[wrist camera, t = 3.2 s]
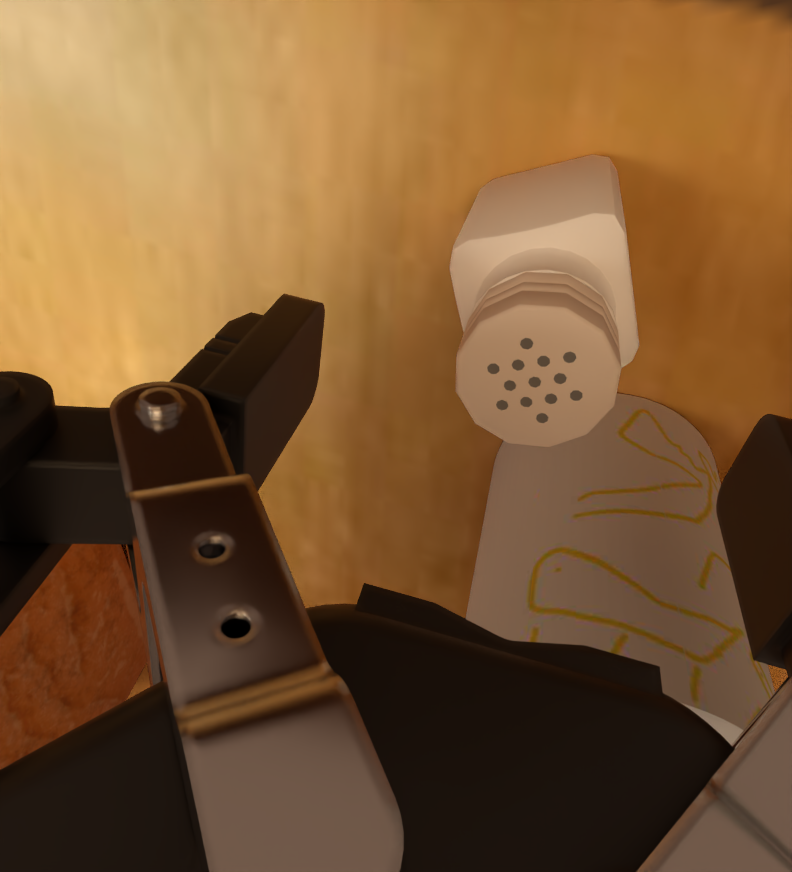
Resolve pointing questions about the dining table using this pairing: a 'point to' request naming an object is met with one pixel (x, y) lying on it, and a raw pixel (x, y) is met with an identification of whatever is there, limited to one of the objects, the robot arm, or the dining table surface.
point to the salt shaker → (544, 302)
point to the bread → (69, 650)
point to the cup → (622, 558)
